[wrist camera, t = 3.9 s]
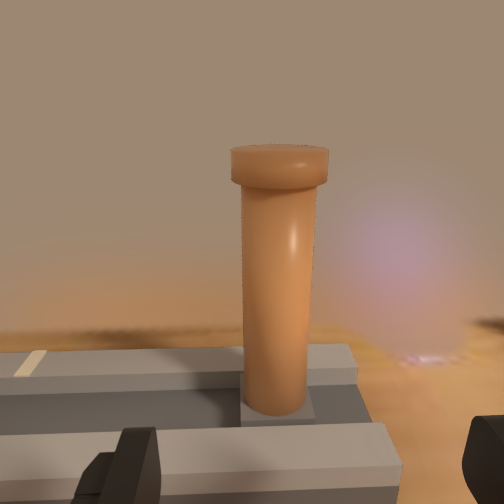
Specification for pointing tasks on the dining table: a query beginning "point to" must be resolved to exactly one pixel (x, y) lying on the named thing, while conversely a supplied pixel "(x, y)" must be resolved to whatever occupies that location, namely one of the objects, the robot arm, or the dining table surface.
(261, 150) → the wooden peg
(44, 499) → the grey stand base
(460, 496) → the dining table surface
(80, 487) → the robot arm
